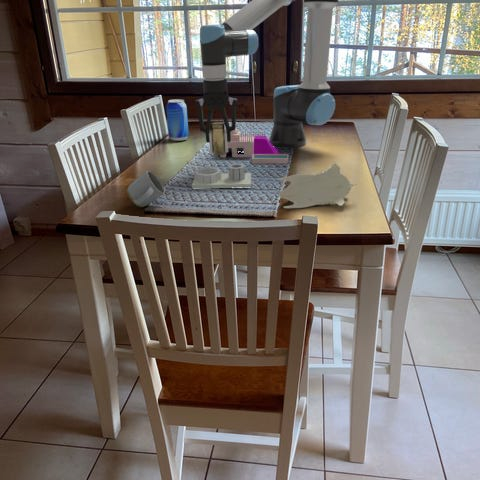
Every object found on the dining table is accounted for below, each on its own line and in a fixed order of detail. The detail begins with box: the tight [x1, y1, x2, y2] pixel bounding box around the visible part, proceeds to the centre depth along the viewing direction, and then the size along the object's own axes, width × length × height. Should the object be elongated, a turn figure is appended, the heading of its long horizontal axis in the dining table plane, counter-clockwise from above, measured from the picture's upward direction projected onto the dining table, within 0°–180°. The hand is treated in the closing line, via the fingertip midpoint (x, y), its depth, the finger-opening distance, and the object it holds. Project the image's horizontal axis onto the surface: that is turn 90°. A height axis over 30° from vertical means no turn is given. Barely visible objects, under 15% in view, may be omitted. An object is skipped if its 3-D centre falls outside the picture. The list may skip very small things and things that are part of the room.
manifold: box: [191, 163, 252, 189], centre depth 145 cm, size 18×11×6 cm, turn 89°
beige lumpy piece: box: [277, 162, 357, 209], centre depth 129 cm, size 22×12×12 cm, turn 94°
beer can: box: [165, 98, 190, 142], centre depth 196 cm, size 8×8×16 cm
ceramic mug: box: [126, 170, 166, 208], centre depth 127 cm, size 11×8×8 cm
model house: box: [219, 125, 289, 165], centre depth 170 cm, size 25×17×11 cm
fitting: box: [210, 121, 227, 156], centre depth 154 cm, size 4×4×10 cm
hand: (219, 151), depth 156 cm, fingers closed on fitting, 4 cm apart
